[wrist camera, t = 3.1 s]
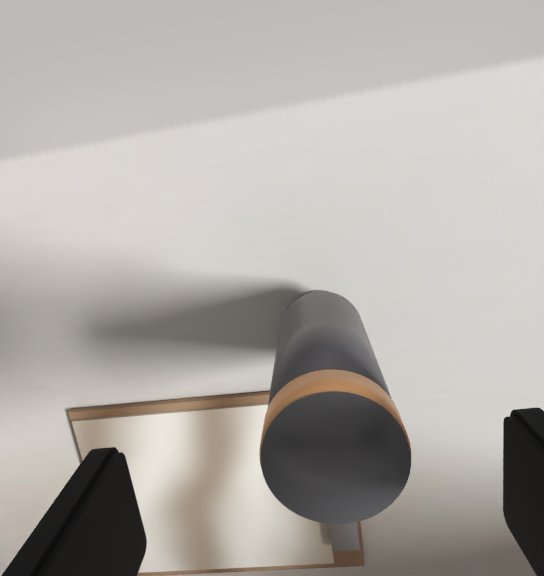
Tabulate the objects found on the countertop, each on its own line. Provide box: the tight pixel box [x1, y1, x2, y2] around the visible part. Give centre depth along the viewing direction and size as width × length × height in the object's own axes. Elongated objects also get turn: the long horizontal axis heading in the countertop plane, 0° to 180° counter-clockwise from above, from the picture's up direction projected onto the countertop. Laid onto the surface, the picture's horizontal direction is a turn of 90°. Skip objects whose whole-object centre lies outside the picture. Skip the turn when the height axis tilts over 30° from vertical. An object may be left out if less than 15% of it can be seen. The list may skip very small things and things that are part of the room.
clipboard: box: [68, 391, 364, 576], centre depth 26 cm, size 16×12×1 cm
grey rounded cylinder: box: [259, 290, 411, 524], centre depth 18 cm, size 4×4×12 cm
